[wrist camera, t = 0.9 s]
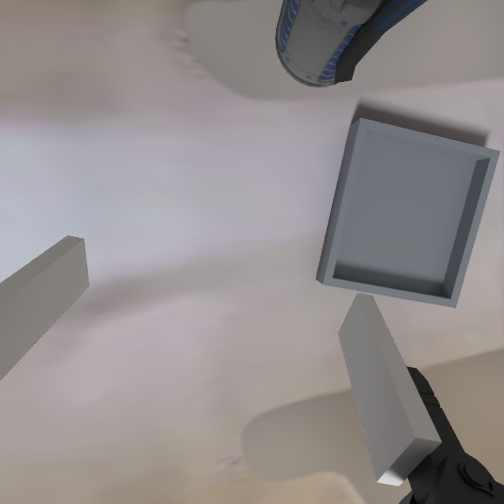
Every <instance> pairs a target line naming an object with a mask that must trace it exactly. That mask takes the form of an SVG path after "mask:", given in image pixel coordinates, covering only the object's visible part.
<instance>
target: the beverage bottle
mask: <svg viewBox="0 0 504 504" xmlns="http://www.w3.org/2000/svg"><path fill="white" fill-rule="evenodd" d="M426 1H427V0H284V1H283V4H282V8H281V12H280V16H279V20H278V24H277V28H276V37H275V41H276V49H277V54H278V57H279V59H280V61H281V64H282V66H283V67H284V68H285V70H286V71H287V73H289V74H290V75H291V76H292V77H293V78H294V79H295V80H297V81H299V82H300V83H302V84H304V85H307V86H311V87H327V86H330V85H334V84H337V83H338V82H344V81H350V80H352V77H353V73H354V70H355V66H356V65H357V63H358V62H359V61H360V60H361V59H362V58H363V56H364V55H365V54H366V53H367V52H368V51H369V50H370V49H371V47H372V46H373V45H374V44H375V43H376V42H377V41H378V40H379V39H380V38H381V36H382V35H383V34H384V33H385V32H386V31H388V30H389V29H390V28H391V27H393V26H394V25H395V24H397V23H398V22H399V21H401V20H402V19H403V18H405V17H406V16H407V15H408V14H410V13H411V12H413V11H414V10H415V9H416V8H418V7H419V6H420V5H422V4H423V3H424V2H426Z"/></svg>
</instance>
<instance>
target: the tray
mask: <svg viewBox="0 0 504 504" xmlns="http://www.w3.org/2000/svg"><path fill="white" fill-rule="evenodd" d="M499 154H500V151H498V150H494V149H490V148H485V147H481V146H477V145H473V144H469V143H465V142H460V141H456V140H452V139H448V138H444V137H439V136H435V135H431V134H427V133H423V132H419V131H414V130H410V129H406V128H402V127H398V126H393V125H389V124H385V123H381V122H377V121H373V120H368V119H364V118H360V119H358V120H357V121H356V122H354V123H353V124H351V125H350V128H349V133H348V137H347V142H346V146H345V151H344V155H343V160H342V164H341V169H340V173H339V177H338V182H337V186H336V191H335V195H334V200H333V204H332V209H331V213H330V218H329V222H328V227H327V231H326V236H325V240H324V245H323V249H322V254H321V258H320V263H319V267H318V271H317V276H316V280H318V281H319V282H320V283H322V284H323V285H329V286H334V287H340V288H346V289H351V290H357V291H363V292H368V293H374V294H380V295H385V296H391V297H397V298H402V299H408V300H414V301H419V302H425V303H431V304H436V305H442V306H448V307H453V308H456V305H457V302H458V298H459V295H460V291H461V287H462V284H463V280H464V277H465V273H466V270H467V266H468V263H469V259H470V256H471V252H472V249H473V245H474V242H475V238H476V235H477V231H478V228H479V224H480V221H481V217H482V214H483V210H484V207H485V203H486V200H487V196H488V193H489V189H490V185H491V182H492V178H493V175H494V171H495V168H496V164H497V161H498V157H499Z"/></svg>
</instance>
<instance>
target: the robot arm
mask: <svg viewBox="0 0 504 504" xmlns="http://www.w3.org/2000/svg"><path fill="white" fill-rule="evenodd" d="M88 287H89V277H88V269H87V260H86V251H85V242H84V239H83V238H78V237H73V236H66V237H65V238H63V239H62V240H61V241H59V242H58V243H56V244H55V245H54V246H52V247H51V248H49V249H48V250H46V251H45V252H44V253H42V254H41V255H39V256H38V257H37V258H35V259H34V260H32V261H31V262H30V263H28V264H27V265H25V266H24V267H23V268H21V269H20V270H18V271H17V272H16V273H14V274H13V275H11V276H10V277H8V278H7V279H6V280H4V281H3V282H1V283H0V380H1V379H2V378H3V377H4V376H5V375H6V374H7V373H8V372H9V371H10V370H11V369H12V368H13V367H14V366H15V364H16V363H17V362H18V361H19V360H20V359H21V358H22V357H23V356H24V355H25V354H26V353H27V352H28V351H29V350H30V349H31V347H32V346H33V345H34V344H35V343H36V342H37V341H38V340H39V339H40V338H41V337H42V336H43V335H44V334H45V333H46V331H47V330H48V329H49V328H50V327H51V326H52V325H53V324H54V323H55V322H56V321H57V320H58V319H59V318H60V317H61V315H62V314H63V313H64V312H65V311H66V310H67V309H68V308H69V307H70V306H71V305H72V304H73V303H74V302H75V301H76V300H77V298H78V297H79V296H80V295H81V294H82V293H83V292H84V291H85V290H86V289H87V288H88ZM338 335H339V339H340V343H341V347H342V351H343V354H344V358H345V362H346V366H347V370H348V374H349V378H350V381H351V385H352V389H353V393H354V397H355V401H356V404H357V408H358V412H359V416H360V420H361V424H362V428H363V431H364V435H365V439H366V443H367V447H368V451H369V455H370V458H371V462H372V466H373V470H374V474H375V478H376V481H377V482H379V483H385V484H391V485H396V486H400V484H401V483H403V482H404V481H405V479H406V478H407V477H408V480H409V483H410V486H411V489H412V491H411V492H410V493H409V494H408V495H407V496H405V497H404V498H403V499H402V500H401V501H400V503H399V504H504V485H502V484H500V483H498V482H496V481H495V480H494V478H493V477H492V476H491V474H490V473H489V472H488V470H487V469H486V468H485V467H484V466H483V465H482V464H481V463H480V462H479V461H478V460H476V459H475V458H473V457H472V456H470V455H468V454H467V453H465V451H464V450H463V448H462V446H461V444H460V442H459V440H458V438H457V436H456V434H455V433H454V431H453V429H452V427H451V425H450V423H449V421H448V419H447V417H446V415H445V413H444V412H443V410H442V408H440V404H439V402H438V400H437V398H436V397H435V396H434V392H433V391H432V389H431V387H430V385H429V383H428V381H427V380H426V379H425V378H424V376H423V375H422V374H421V373H420V372H419V371H418V370H417V368H412V367H407V366H406V365H405V363H404V361H403V359H402V357H401V355H400V353H399V350H398V348H397V346H396V344H395V342H394V340H393V338H392V336H391V334H390V331H389V329H388V327H387V325H386V323H385V321H384V319H383V317H382V314H381V312H380V310H379V308H378V306H377V304H376V302H375V300H374V298H373V296H371V295H366V294H361V293H357V294H356V297H355V299H354V301H353V303H352V305H351V307H350V309H349V311H348V314H347V316H346V318H345V320H344V322H343V324H342V326H341V328H340V331H339V333H338Z"/></svg>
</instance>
